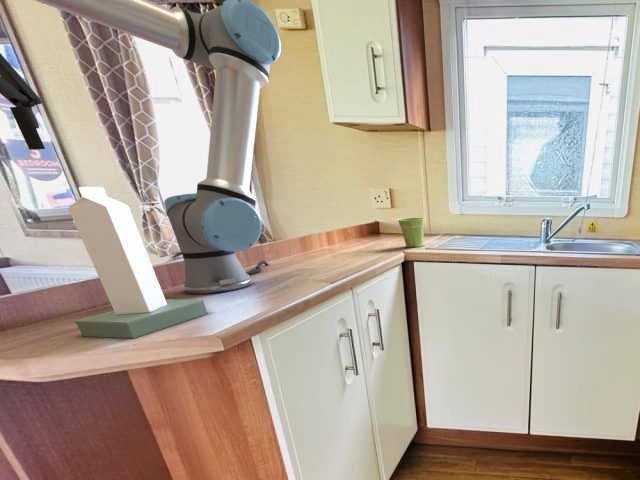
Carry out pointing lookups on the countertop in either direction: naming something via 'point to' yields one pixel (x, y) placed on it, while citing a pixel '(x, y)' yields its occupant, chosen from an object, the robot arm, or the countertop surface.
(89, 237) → the milk
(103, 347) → the countertop surface
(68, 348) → the countertop surface
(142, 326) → the sage green flat tile
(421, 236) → the plant pot
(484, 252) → the countertop surface
